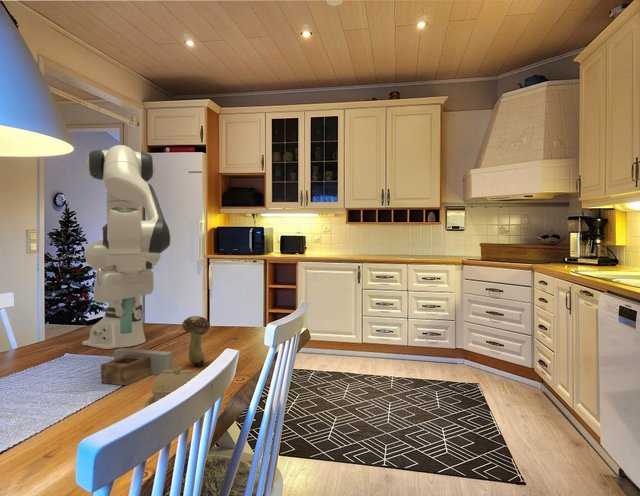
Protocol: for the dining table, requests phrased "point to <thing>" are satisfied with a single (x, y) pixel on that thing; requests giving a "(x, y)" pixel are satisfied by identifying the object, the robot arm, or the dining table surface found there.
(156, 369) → the wall
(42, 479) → the dining table surface
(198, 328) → the mushroom
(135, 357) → the open box
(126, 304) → the green rectangular block
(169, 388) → the ceramic model
